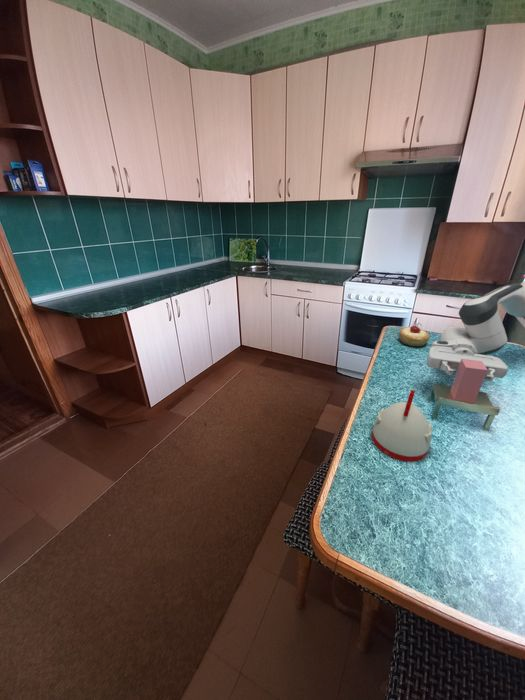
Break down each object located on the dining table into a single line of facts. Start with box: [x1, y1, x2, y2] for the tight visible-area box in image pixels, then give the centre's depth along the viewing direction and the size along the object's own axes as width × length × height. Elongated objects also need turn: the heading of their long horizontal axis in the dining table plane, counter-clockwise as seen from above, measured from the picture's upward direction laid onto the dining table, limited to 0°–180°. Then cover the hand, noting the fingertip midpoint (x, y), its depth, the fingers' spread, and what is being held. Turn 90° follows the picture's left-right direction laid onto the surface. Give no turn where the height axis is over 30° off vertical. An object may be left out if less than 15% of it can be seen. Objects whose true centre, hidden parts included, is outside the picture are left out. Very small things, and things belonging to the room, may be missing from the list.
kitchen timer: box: [371, 389, 433, 462], centre depth 74 cm, size 14×14×15 cm
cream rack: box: [428, 383, 501, 431], centre depth 84 cm, size 14×11×8 cm
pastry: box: [398, 322, 431, 348], centre depth 127 cm, size 12×12×9 cm
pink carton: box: [450, 359, 488, 403], centre depth 82 cm, size 5×5×11 cm
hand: (469, 375), depth 81 cm, fingers open, 8 cm apart
